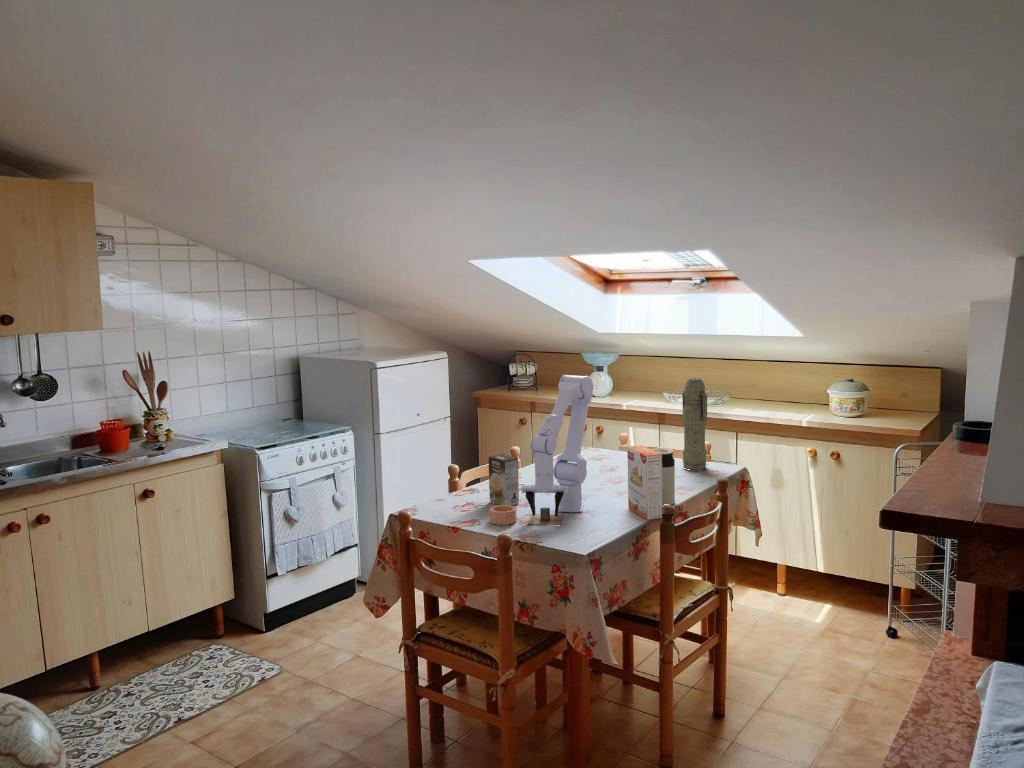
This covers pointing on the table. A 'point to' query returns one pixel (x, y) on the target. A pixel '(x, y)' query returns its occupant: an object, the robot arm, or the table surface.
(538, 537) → the table surface
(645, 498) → the cracker box
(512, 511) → the terracotta bowl
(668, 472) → the travel mug
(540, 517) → the walnut lid
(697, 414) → the thermos
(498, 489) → the coffee box
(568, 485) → the robot arm
